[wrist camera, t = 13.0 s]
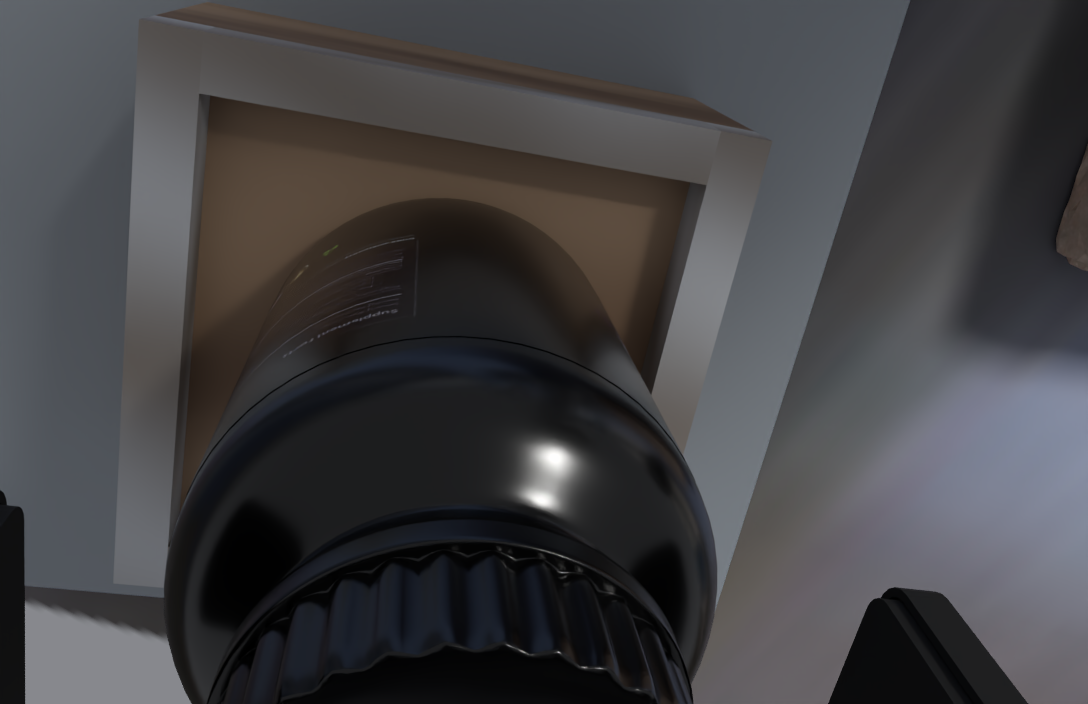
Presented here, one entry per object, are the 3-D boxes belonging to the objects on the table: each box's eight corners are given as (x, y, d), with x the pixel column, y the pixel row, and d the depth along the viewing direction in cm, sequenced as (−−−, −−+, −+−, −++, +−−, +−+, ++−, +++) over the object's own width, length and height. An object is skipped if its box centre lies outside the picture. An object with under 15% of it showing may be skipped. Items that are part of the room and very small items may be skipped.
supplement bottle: (672, 349, 20) (981, 837, 9) (441, 554, 21) (465, 1201, 10) (435, 107, 18) (463, 373, 7) (190, 355, 19) (-133, 925, 8)
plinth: (207, 1, 21) (138, 18, 15) (693, 98, 23) (772, 141, 18) (175, 452, 24) (113, 583, 19) (592, 499, 26) (633, 629, 21)
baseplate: (7, -279, 19) (-24, -297, 18) (900, -64, 23) (931, -65, 22) (9, 549, 27) (-14, 582, 25) (691, 613, 30) (704, 644, 29)
